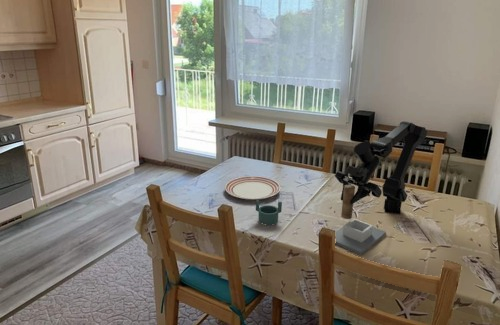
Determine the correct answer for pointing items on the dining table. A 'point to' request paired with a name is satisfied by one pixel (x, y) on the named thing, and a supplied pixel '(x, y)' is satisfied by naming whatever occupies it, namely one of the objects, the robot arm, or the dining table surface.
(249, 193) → the dinner plate
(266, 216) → the teal handled pot
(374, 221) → the dining table surface
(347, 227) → the cup socket
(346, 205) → the dowel post
